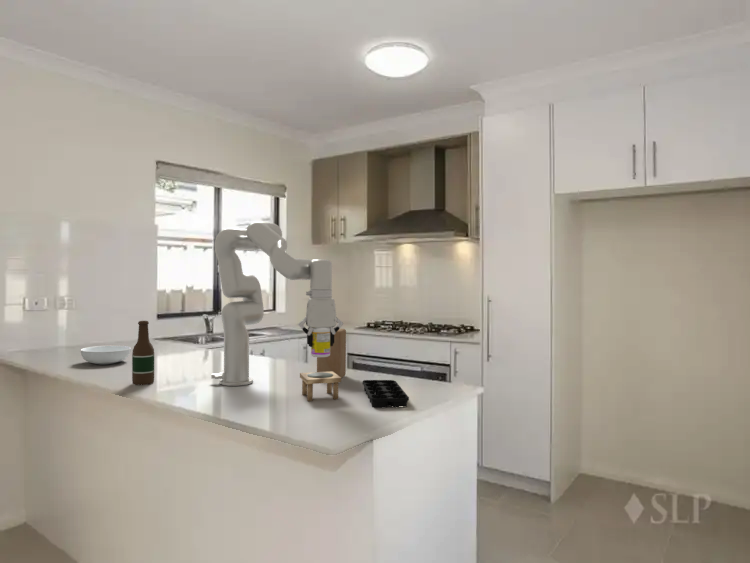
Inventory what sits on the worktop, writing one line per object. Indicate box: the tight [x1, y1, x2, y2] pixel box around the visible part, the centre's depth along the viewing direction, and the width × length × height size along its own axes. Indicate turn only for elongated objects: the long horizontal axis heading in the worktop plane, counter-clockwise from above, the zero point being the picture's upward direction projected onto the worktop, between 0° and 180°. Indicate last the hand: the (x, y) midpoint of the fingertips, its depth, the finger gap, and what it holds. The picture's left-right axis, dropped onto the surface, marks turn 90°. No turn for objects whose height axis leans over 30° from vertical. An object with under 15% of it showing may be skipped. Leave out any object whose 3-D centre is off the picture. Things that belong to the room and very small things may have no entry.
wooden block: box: [316, 327, 347, 379], centre depth 219 cm, size 10×10×20 cm
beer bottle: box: [131, 320, 155, 386], centre depth 204 cm, size 8×8×24 cm
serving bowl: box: [79, 345, 132, 366], centre depth 247 cm, size 21×21×7 cm
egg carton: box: [362, 379, 410, 409], centre depth 186 cm, size 18×30×4 cm, turn 20°
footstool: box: [299, 371, 342, 402], centre depth 186 cm, size 12×12×8 cm
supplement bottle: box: [310, 327, 330, 358], centre depth 185 cm, size 7×7×13 cm
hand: (320, 345), depth 185 cm, fingers closed on supplement bottle, 6 cm apart
